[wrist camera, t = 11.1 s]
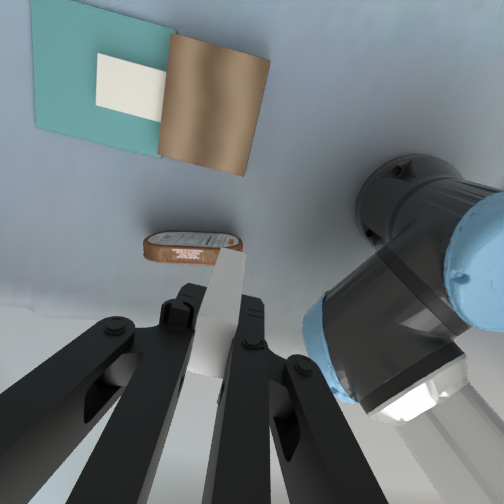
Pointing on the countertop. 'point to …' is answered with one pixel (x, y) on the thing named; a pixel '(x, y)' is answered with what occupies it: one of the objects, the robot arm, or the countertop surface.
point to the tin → (188, 247)
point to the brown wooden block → (210, 104)
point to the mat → (91, 71)
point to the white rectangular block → (130, 87)
